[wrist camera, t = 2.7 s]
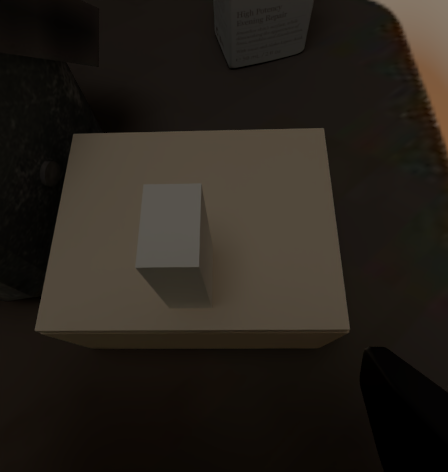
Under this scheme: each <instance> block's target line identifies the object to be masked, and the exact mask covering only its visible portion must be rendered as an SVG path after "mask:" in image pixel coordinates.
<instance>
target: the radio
mask: <svg viewBox="0 0 448 472" xmlns="http://www.w3.org/2000/svg"><path fill="white" fill-rule="evenodd" d="M66 62H69V63H76V64H82V65H89V66H96V67H99V8H97V7H95V6H92V5H90V4H88V3H86V2H83V1H81V0H0V300H3V301H11V300H18V299H24V298H31V297H38V296H41V294H42V291H43V286H44V281H45V276H46V271H47V266H48V261H49V255H50V250H51V245H52V240H53V235H54V230H55V225H56V220H57V215H58V210H59V205H60V199H61V194H62V189H63V184H64V179H65V174H66V169H67V164H68V159H69V154H70V149H71V143H72V138H73V134H88V133H103V131H102V130H101V128H100V126H99V124H98V122H97V120H96V118H95V116H94V114H93V112H92V110H91V109H90V107H89V105H88V103H87V101H86V99H85V97H84V95H83V93H82V91H81V90H80V88H79V86H78V84H77V82H76V80H75V78H74V76H73V74H72V72H71V71H70V69H69V67H68V65H67V63H66Z"/></svg>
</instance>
